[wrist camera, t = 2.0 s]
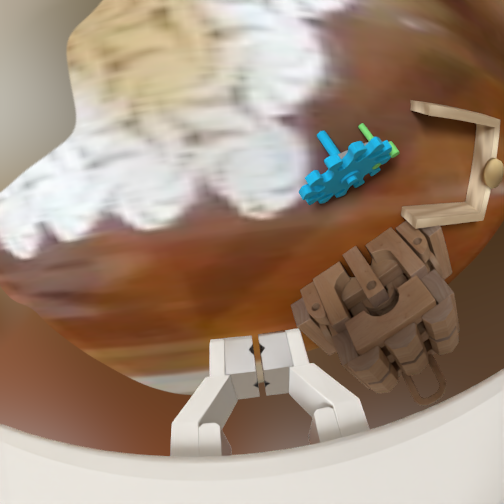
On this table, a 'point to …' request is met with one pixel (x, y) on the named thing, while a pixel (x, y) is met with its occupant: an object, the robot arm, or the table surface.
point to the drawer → (482, 172)
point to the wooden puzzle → (386, 310)
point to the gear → (346, 166)
